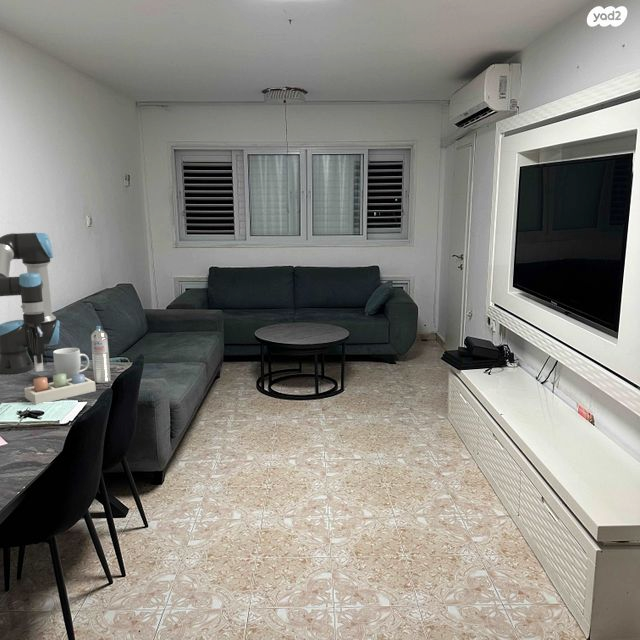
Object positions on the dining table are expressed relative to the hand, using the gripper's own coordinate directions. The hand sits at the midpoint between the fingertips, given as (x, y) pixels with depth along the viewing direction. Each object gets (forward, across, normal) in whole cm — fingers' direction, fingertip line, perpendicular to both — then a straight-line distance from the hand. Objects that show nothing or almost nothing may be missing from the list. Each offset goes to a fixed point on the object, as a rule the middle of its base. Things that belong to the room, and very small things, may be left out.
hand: (39, 370), depth 230 cm
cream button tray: (+12, 0, +8) cm, 14 cm away
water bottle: (+12, -5, +28) cm, 31 cm away
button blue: (+10, 0, +15) cm, 18 cm away
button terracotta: (+9, 0, 0) cm, 9 cm away
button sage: (+9, 0, +8) cm, 11 cm away
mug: (+12, -20, +20) cm, 31 cm away
